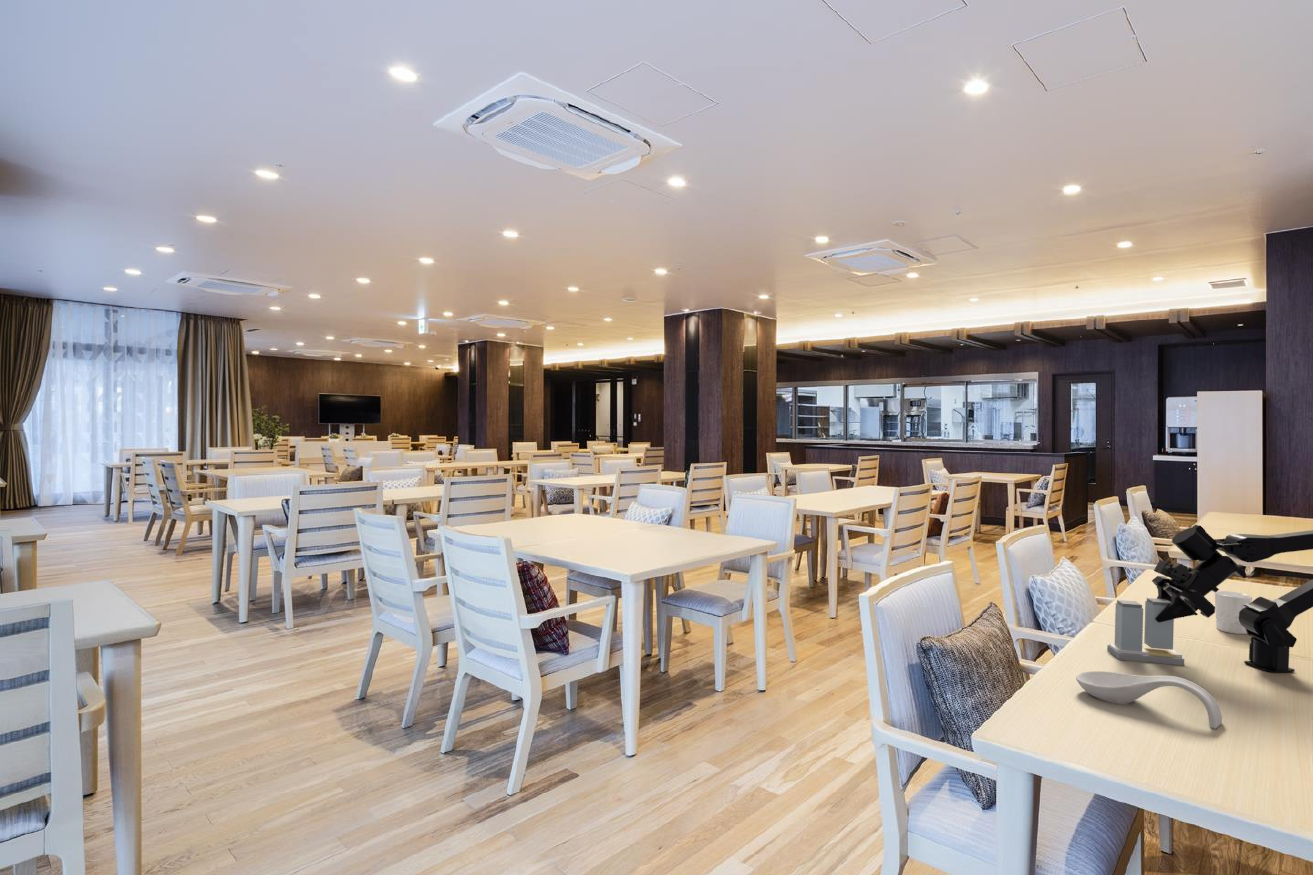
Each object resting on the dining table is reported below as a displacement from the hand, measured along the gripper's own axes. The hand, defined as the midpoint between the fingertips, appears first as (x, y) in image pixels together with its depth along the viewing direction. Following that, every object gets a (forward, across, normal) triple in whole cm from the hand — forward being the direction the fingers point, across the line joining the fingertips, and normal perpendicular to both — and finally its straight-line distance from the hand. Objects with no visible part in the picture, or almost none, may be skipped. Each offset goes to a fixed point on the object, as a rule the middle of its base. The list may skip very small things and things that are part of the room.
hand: (1152, 618), depth 167 cm
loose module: (+4, 0, +6) cm, 7 cm away
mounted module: (+9, 0, +2) cm, 9 cm away
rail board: (+8, 0, +6) cm, 10 cm away
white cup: (-16, -33, +30) cm, 48 cm away
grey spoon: (+17, +34, -3) cm, 38 cm away
